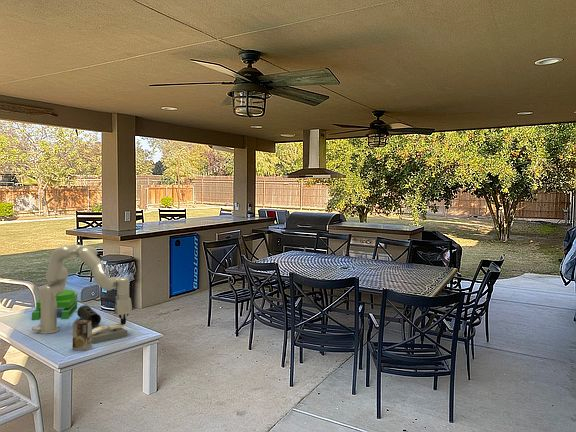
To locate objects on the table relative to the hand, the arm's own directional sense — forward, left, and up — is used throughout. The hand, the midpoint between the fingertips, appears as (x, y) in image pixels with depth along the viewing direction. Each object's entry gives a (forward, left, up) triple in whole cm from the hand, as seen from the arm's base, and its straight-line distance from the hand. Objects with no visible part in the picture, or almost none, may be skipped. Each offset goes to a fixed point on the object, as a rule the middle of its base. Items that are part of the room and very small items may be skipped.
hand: (123, 324), depth 286 cm
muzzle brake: (-6, +39, -7) cm, 41 cm away
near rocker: (-17, 0, -1) cm, 17 cm away
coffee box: (-30, -9, -7) cm, 32 cm away
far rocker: (-5, 0, -1) cm, 5 cm away
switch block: (-11, 0, -7) cm, 13 cm away
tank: (-16, +74, -8) cm, 76 cm away
